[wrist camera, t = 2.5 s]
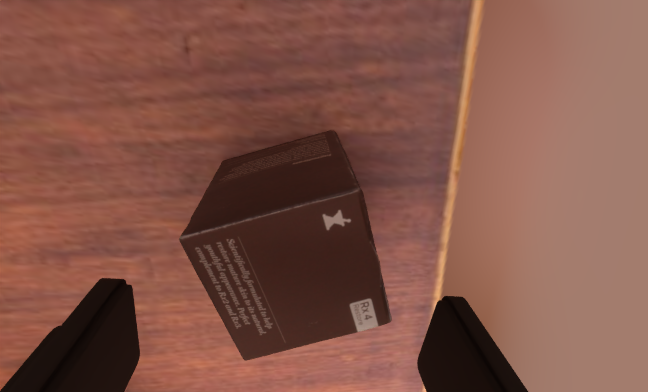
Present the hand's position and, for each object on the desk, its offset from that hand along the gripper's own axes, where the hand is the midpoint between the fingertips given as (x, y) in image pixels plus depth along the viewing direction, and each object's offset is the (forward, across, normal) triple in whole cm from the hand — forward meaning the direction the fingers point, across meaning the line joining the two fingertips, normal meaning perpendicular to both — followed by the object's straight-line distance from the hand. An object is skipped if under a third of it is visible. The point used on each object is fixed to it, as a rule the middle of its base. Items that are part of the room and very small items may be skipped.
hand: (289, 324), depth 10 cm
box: (+9, 0, 0) cm, 9 cm away
